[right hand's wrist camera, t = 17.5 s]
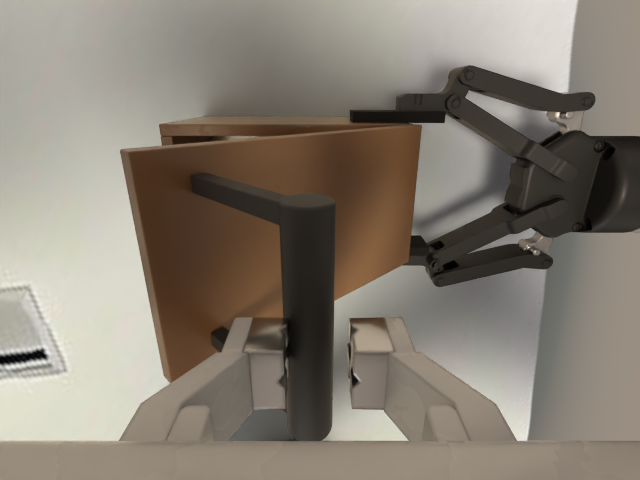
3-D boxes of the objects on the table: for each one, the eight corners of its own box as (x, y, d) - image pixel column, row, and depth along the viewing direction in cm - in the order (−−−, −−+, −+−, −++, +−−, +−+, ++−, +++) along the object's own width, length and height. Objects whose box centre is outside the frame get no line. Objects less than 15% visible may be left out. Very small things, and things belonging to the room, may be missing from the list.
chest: (214, 217, 37) (178, 258, 27) (203, 116, 33) (158, 123, 24) (380, 217, 37) (402, 257, 28) (387, 116, 33) (414, 124, 24)
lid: (163, 375, 16) (270, 507, 11) (119, 149, 12) (246, 185, 7) (398, 258, 27) (503, 295, 22) (410, 124, 24) (538, 131, 19)
